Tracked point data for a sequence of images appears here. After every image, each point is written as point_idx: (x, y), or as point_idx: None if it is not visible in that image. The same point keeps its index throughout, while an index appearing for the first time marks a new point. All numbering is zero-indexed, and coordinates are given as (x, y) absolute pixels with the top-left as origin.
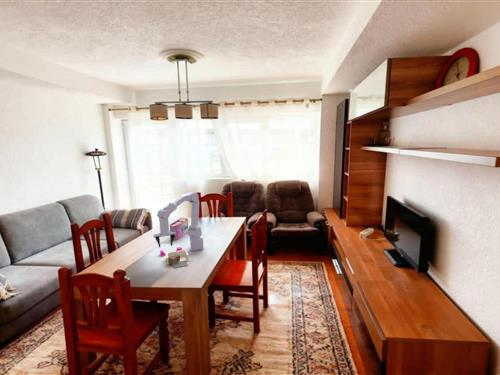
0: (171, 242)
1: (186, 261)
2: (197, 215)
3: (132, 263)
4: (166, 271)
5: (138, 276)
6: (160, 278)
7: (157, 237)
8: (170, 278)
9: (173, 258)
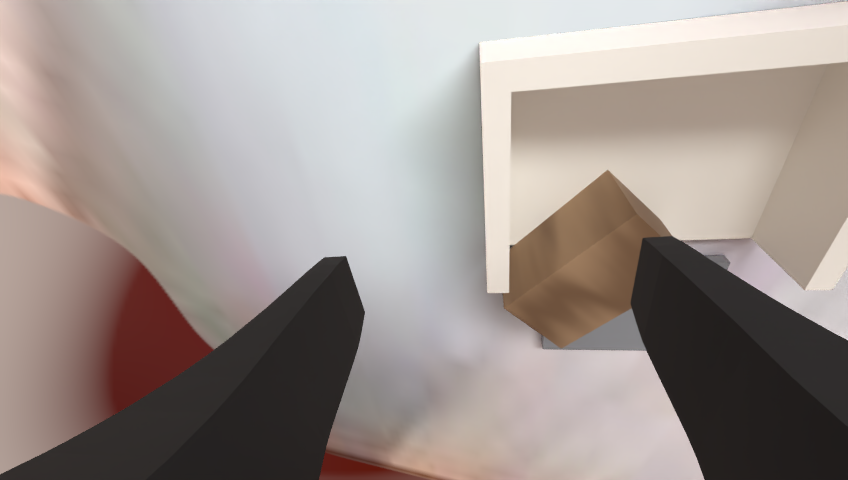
0: (685, 414)
1: (725, 267)
2: None
3: (35, 76)
4: (473, 360)
5: None
6: (431, 420)
7: None
8: (497, 438)
9: (572, 339)
